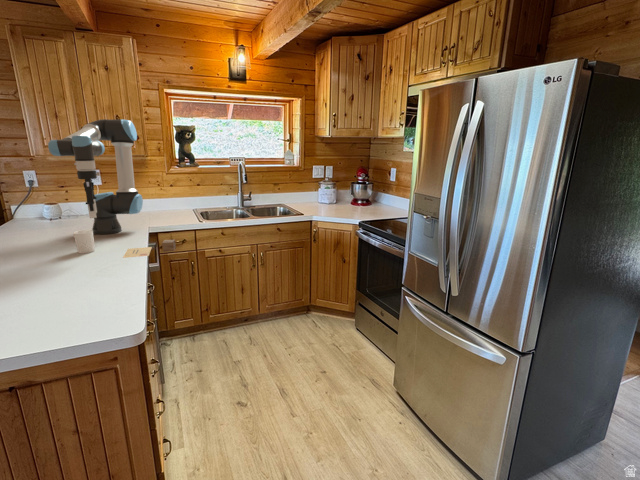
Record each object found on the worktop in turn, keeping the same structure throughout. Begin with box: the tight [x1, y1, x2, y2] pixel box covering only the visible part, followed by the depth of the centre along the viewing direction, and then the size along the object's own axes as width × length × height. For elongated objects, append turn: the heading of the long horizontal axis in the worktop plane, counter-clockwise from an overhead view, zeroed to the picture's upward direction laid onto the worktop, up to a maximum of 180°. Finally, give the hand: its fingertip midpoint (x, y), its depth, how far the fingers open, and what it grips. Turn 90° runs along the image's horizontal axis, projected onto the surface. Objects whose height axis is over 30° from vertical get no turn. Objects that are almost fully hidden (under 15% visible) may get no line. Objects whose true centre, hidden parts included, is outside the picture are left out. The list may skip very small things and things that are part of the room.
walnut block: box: [161, 239, 177, 253], centre depth 179 cm, size 5×5×5 cm
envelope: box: [122, 246, 153, 259], centre depth 175 cm, size 16×11×1 cm
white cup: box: [73, 229, 95, 254], centre depth 176 cm, size 8×8×10 cm
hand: (93, 215), depth 173 cm, fingers open, 13 cm apart
